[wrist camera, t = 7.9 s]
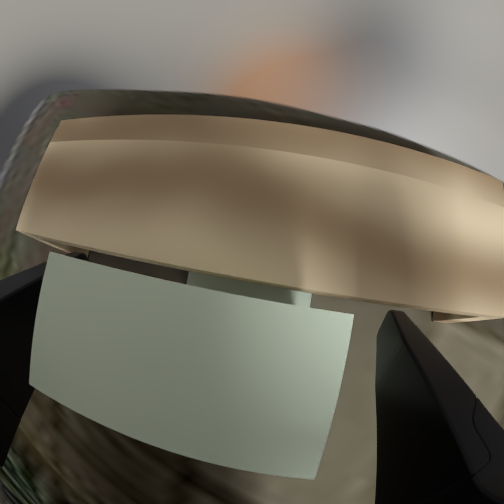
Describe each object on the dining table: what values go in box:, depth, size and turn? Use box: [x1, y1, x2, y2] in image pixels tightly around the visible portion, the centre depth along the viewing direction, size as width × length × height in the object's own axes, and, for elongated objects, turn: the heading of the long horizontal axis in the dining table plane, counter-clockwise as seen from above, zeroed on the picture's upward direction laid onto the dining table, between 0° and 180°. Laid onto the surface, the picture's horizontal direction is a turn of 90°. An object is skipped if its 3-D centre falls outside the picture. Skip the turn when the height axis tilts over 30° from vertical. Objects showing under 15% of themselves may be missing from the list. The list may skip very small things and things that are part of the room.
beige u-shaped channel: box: [16, 115, 504, 323], centre depth 14 cm, size 7×24×6 cm, turn 79°
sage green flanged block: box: [29, 252, 354, 479], centre depth 10 cm, size 8×6×12 cm
